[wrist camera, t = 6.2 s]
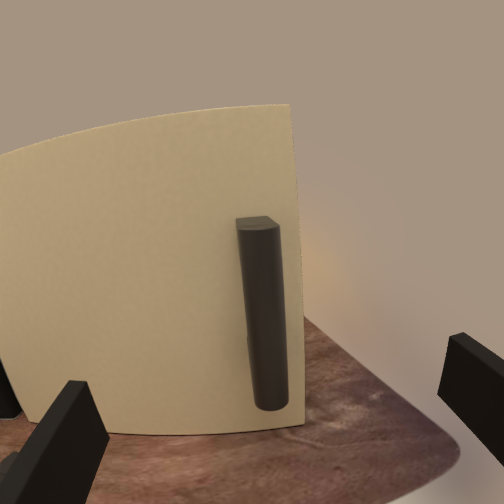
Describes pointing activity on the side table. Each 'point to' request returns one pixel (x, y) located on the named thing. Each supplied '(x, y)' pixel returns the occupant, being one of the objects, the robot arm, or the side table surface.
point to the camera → (8, 397)
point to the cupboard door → (158, 272)
